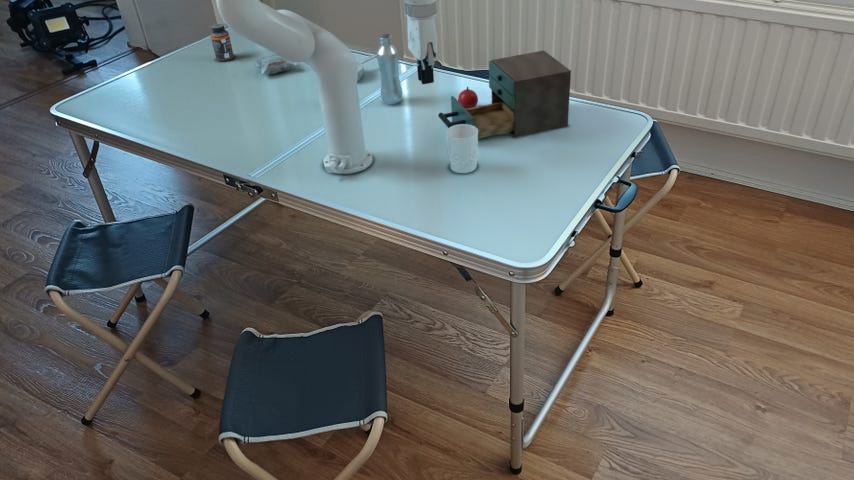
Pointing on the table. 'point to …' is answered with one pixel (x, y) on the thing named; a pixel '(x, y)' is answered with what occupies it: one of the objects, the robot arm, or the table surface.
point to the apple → (468, 98)
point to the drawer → (481, 118)
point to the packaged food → (274, 64)
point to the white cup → (462, 147)
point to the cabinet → (532, 91)
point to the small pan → (360, 66)
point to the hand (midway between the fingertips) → (426, 80)
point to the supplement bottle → (221, 43)
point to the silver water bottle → (389, 70)
